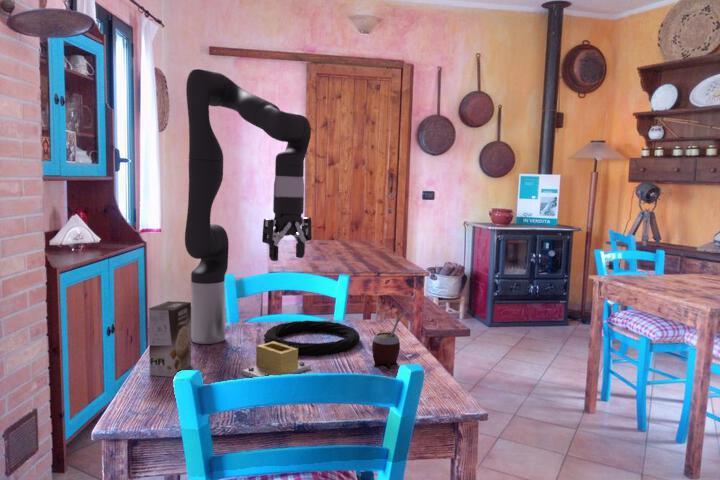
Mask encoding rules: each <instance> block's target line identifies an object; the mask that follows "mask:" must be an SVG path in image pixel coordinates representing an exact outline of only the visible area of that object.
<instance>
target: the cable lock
mask: <svg viewBox="0 0 720 480" xmlns="http://www.w3.org/2000/svg"><path fill="white" fill-rule="evenodd" d="M324 332H326V334H334V335H336V334H337V336H339V335H340V336H339V337H344V338H342V339H339V340H336V341H328V342H327V341H326V342H320V343H316V342H298V341H289V340H285V339H282V338H281V337H283V336H287V335H291V334H299V333H324ZM360 338H361V337H360V333H359V332H358V331H357V330H355V328H354V327H351V326H348V325H345V324H342V323H339V322H333V321H323V320H321V321H320V320H319V321H318V320H303V321H302V320H299V321H298V320H297V321H291V322H287V323H286V322H285V323H281V324H277V325H274V326H272V327H271V328H270V329H267V330H266V333H264V334H263V341H264V344H265V343H269V342H273V341H274V342H277V343H281V344H284V345H287V346H290V347H294V348H297V349H298V357H324V356H334V355H337V354H342V353H347V352H349V351H351V350H354V348H355V347H357V346H358V344H359V343H360Z"/></svg>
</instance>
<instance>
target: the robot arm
mask: <svg viewBox="0 0 720 480" xmlns="http://www.w3.org/2000/svg"><path fill="white" fill-rule="evenodd" d="M185 90H186V92H185V94H186V105H187V106H186V107H187V118H188V135H189V138H188V139H189V141H188V142H189V145H188V148H189V149H188V201H187V202H188V203H187V214H186V221H185V232H184V245H185V246H184V247H185V249H186V252H187V253H188V255H189V256H190V257H192V258H193V259H197V260H198V259H199V260H200V261H199V263H198V265H197V267H195V268H194V269H193V270H192V271H191V273H190V279H191V280H190V286H191V288H190V289H191V290H190V291H191V294H190V295H191V343H194V344H199V345H200V344H201V345H208V344H209V345H212V344H213V345H214V344H217V343H222V342H223V341H225V340H226V330H225V329H226V288H225V287H226V286H225V285H226V281H225V279H226V273H227V272H228V265H229V235H228V234H227V231H226V230H225V228H224V226H221V225H219V224H217V223H211V213H212V206H213V203H214V201H215V198H216V197H217V194H218V192H219V190H220V188H221V186H222V182H223V179H224V153H223V149H222V146H221V145H220V142H219V141H218V138H217V136H216V135H215V132H214V130H213V128H212V125H211V119H210V107H220V108H221V107H222V108H227V109H229V110H234V112H237V113H238V115H239V116H240V117H241V118H242V119H243V120H244V121H245V122H247V123H249V124H251V125H252V126H255V127H256V128H259V129H261V130H263V132H265V134H267V136H269V137H270V138H272V139H274V140H276V141H278V142H285V143H286V149H284V150H285V151H281V152H279V153H277V155H276V157H275V163H274V164H275V166H274V167H275V170H274V171H275V172H274V174H275V175H274V181H273V182H274V183H273V204H272V205H273V207H272V212H273V213H274V217H273V219H272V218H264V219H263V223H262V225H263V226H262V237H261V240H262V243H263V244H267V245H268V247H269V248H268V250H269V252H268V257H269V259H270V260H271V261H272V262H277V261H279V243H280V242H281V240H283V239H284V238H285V237H288V236H292V237H294V239H295V241H296V244H295V257H296V258H297V259H303V258H304V256H305V253H306V251H305V250H306V249H305V248H306V243H307V242H309V241H312V218H311V217H306V216H302V215H303V213H304V211H305V210H304V207H305V204H304V203H305V200H304V199H305V182H304V172H305V171H304V169H305V167H304V165H305V158H306V155H307V152H308V148H309V144H310V140H311V135H312V129H311V128H312V127H311V123H310V121H309V119H308V118H307V117H306V116H304V115H302V114H297V113H291V112H285V111H282V110H281V109H280V108H279V106H277V105H276V104H274V103H272V102H270V101H268V100H266V99H264V98H262V97H260V96H257V95H256V94H253V93H251V92H249V91H247V90H245V89H244V88H242V87H241V86H239V85H238V84H236V83H235V82H234V81H233V80H232V79H230V78H229V76H228V77H227V76H226V75H225V74H223V73H221V72H218V71H213V70H209V69H205V68H193V69H192V70H191V71H190V73H189V74H188V76H187V80H186V88H185Z"/></svg>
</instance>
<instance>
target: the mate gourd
mask: <svg viewBox="0 0 720 480" xmlns="http://www.w3.org/2000/svg"><path fill="white" fill-rule="evenodd" d="M409 312H410V311H409V310H406V311H404V312H403V313H402V314H400V315H399V316H398V317H397V318H396V320H395V322H394V323H395V324H394V327H393V328H392V332H378V333H377V334H375V335H374V337H373V338H372V344H371V350H372V358H373V362H374V364H373V367H374V368H381V367H382V368H383V367H384V368H386V369H387V370H388V371H390V370H392V367H395V366H398V362H397V360H398V358H399V354H400V350H401V349H400V348H401V344H400V338H399V336H397V334H395V332H396V329H397V326H398V324H399V322H400V321H401V318H402V317H403V316H405V315H406V314H407V313H409Z"/></svg>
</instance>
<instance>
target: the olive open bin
mask: <svg viewBox="0 0 720 480" xmlns="http://www.w3.org/2000/svg"><path fill="white" fill-rule="evenodd" d="M255 347H256V351H255V353H256V354H255V355H256V359H255V360H256V363H255V364H256V365H255V366H259V367H261V368H264V369H267V370H270V371H272V372H275V373H278V374H284V373H287V372H290V371H293V370H296V369H298V361H299V356H298V349H297V348H294V347H290V346H287V345H284V344H281V343H277V342H274V341H273V342H269V343H265V342H264V343H262V344H258V345H256V346H255Z"/></svg>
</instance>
